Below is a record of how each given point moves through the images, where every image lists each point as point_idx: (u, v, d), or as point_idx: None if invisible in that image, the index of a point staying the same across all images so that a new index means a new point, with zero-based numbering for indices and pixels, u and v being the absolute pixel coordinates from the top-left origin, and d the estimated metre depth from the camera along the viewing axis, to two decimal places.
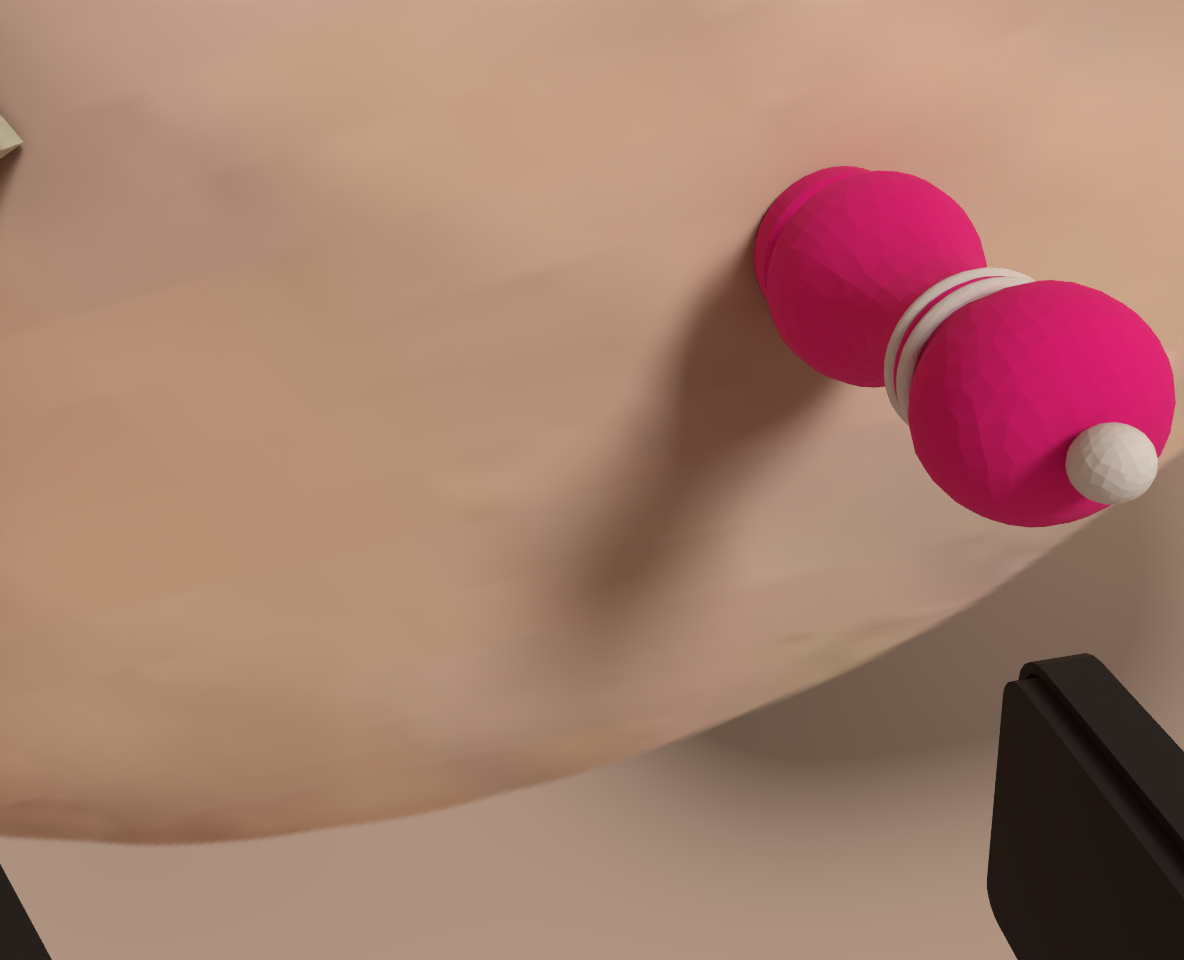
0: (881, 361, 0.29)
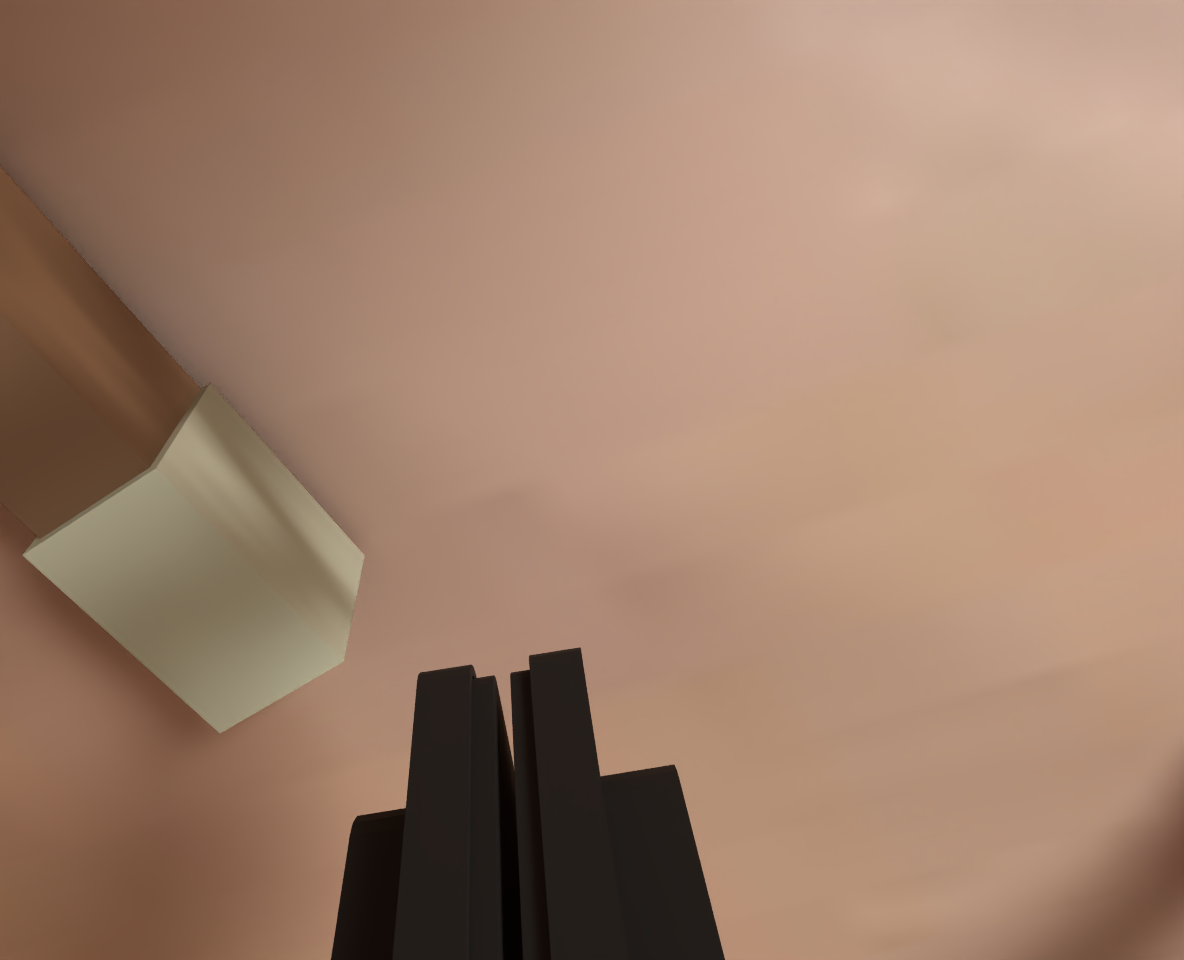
0: None
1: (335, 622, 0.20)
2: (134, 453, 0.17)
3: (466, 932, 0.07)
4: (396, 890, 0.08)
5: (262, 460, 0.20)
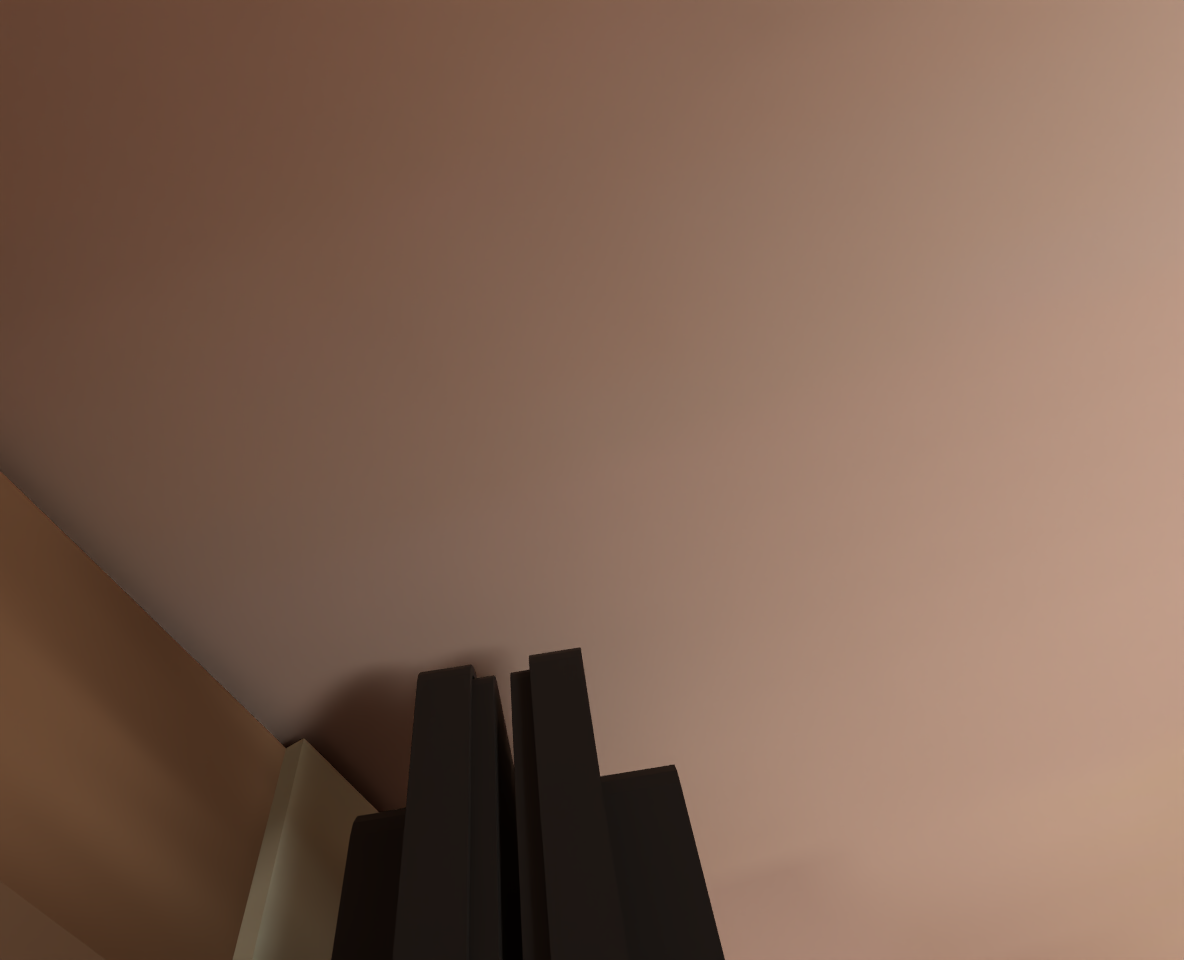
0: None
1: None
2: None
3: (466, 931, 0.07)
4: (396, 890, 0.08)
5: None
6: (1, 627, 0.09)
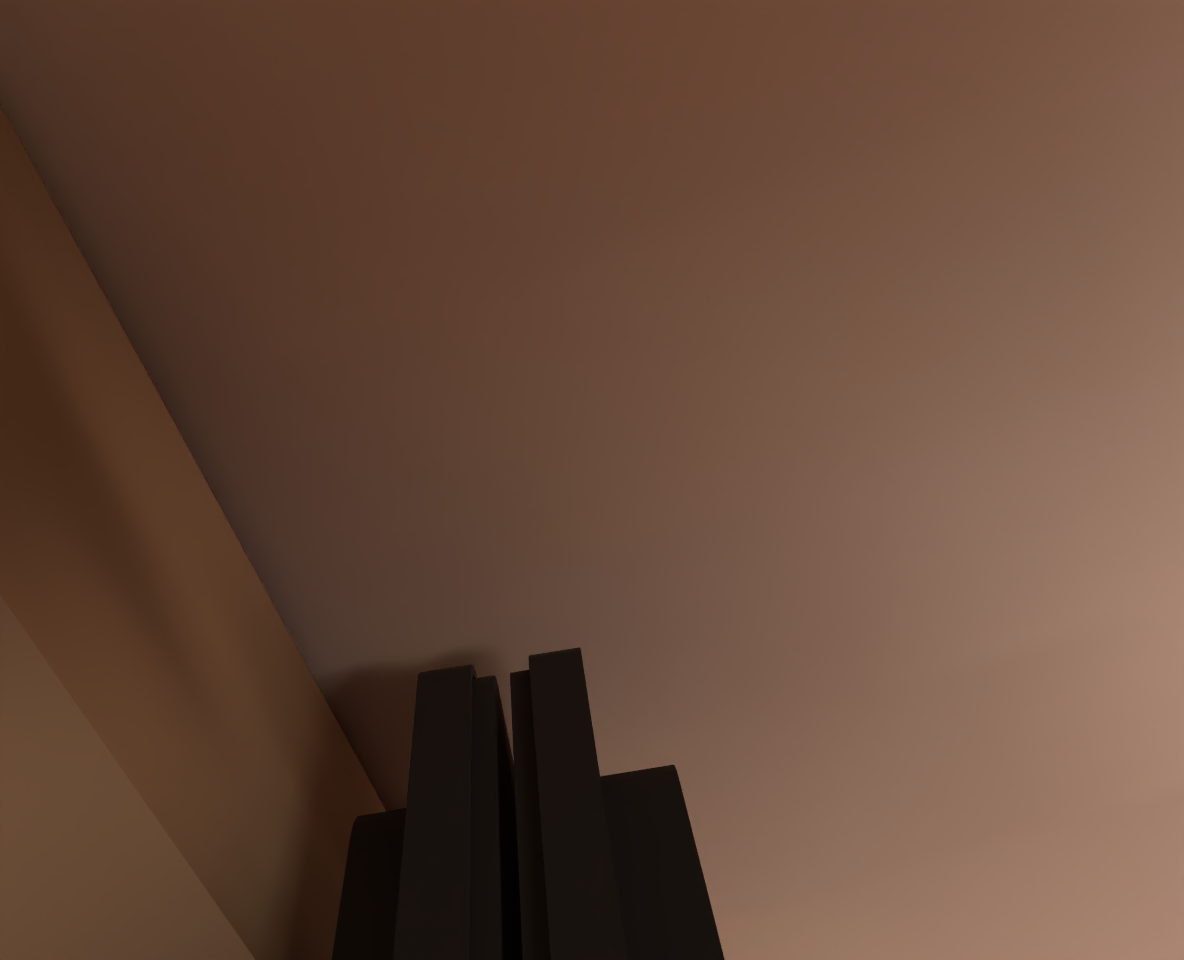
0: None
1: None
2: None
3: (466, 932, 0.07)
4: (396, 890, 0.08)
5: None
6: (263, 733, 0.09)
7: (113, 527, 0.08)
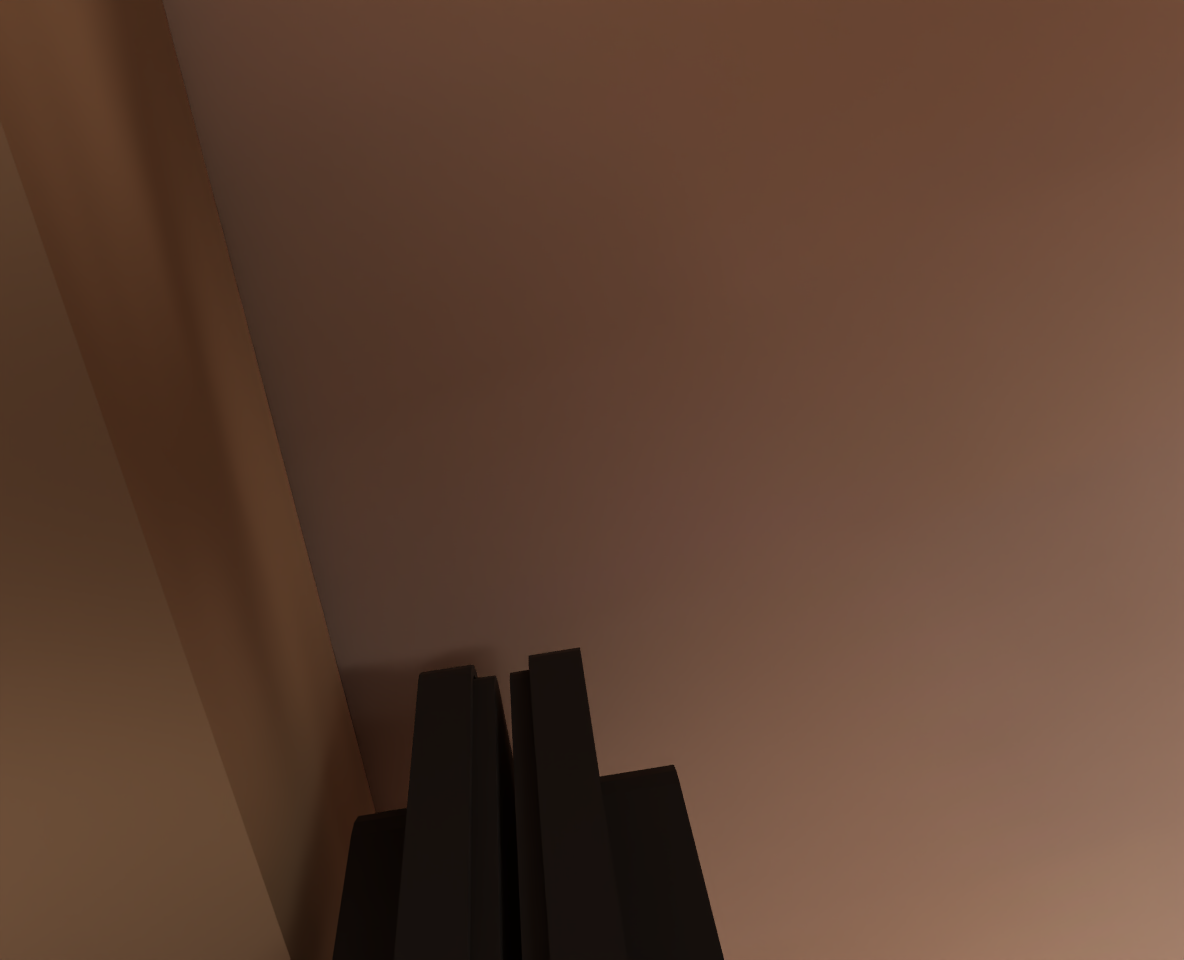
0: None
1: None
2: None
3: (468, 931, 0.07)
4: (397, 890, 0.08)
5: None
6: (319, 771, 0.10)
7: (244, 564, 0.08)
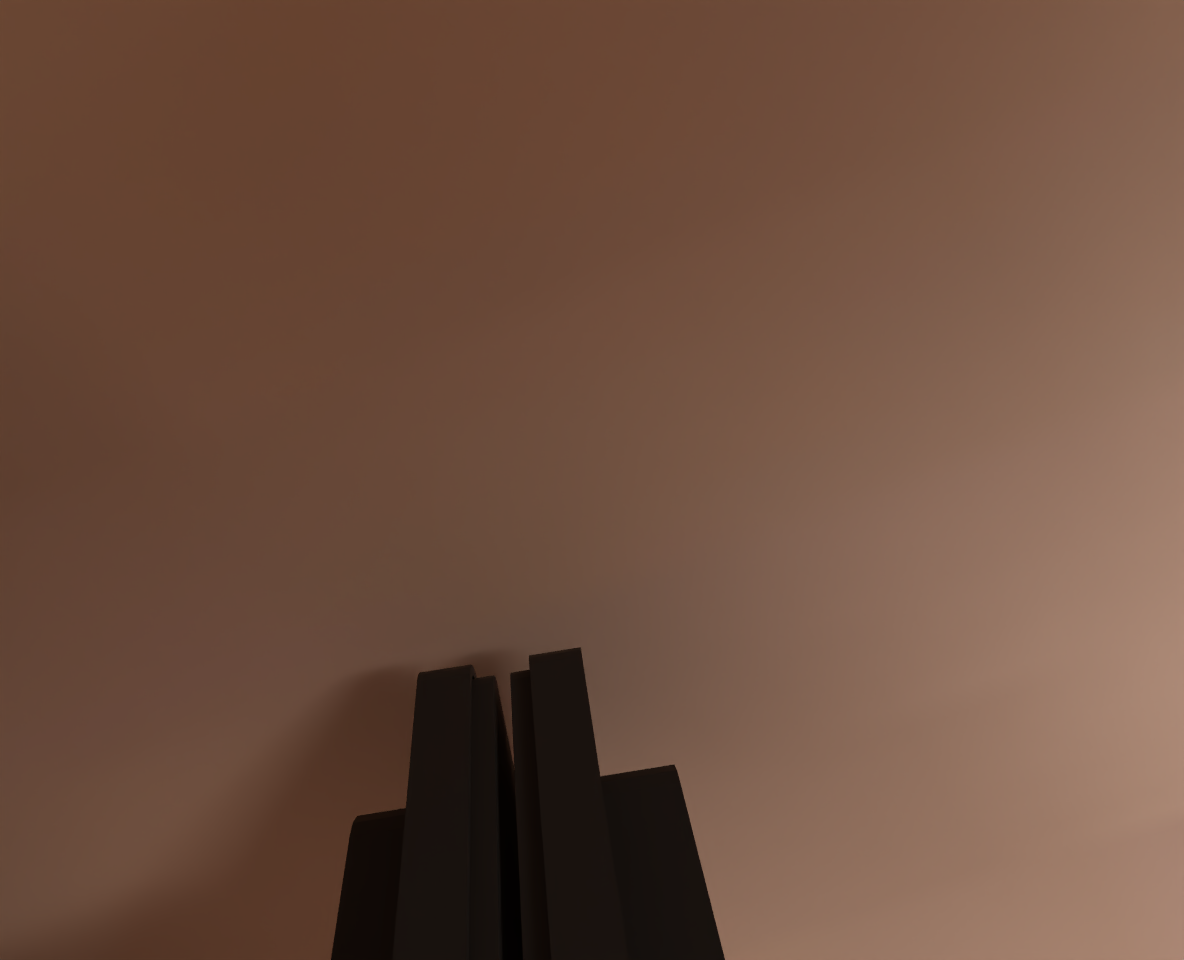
0: None
1: None
2: None
3: (466, 931, 0.07)
4: (396, 890, 0.08)
5: None
6: None
7: None
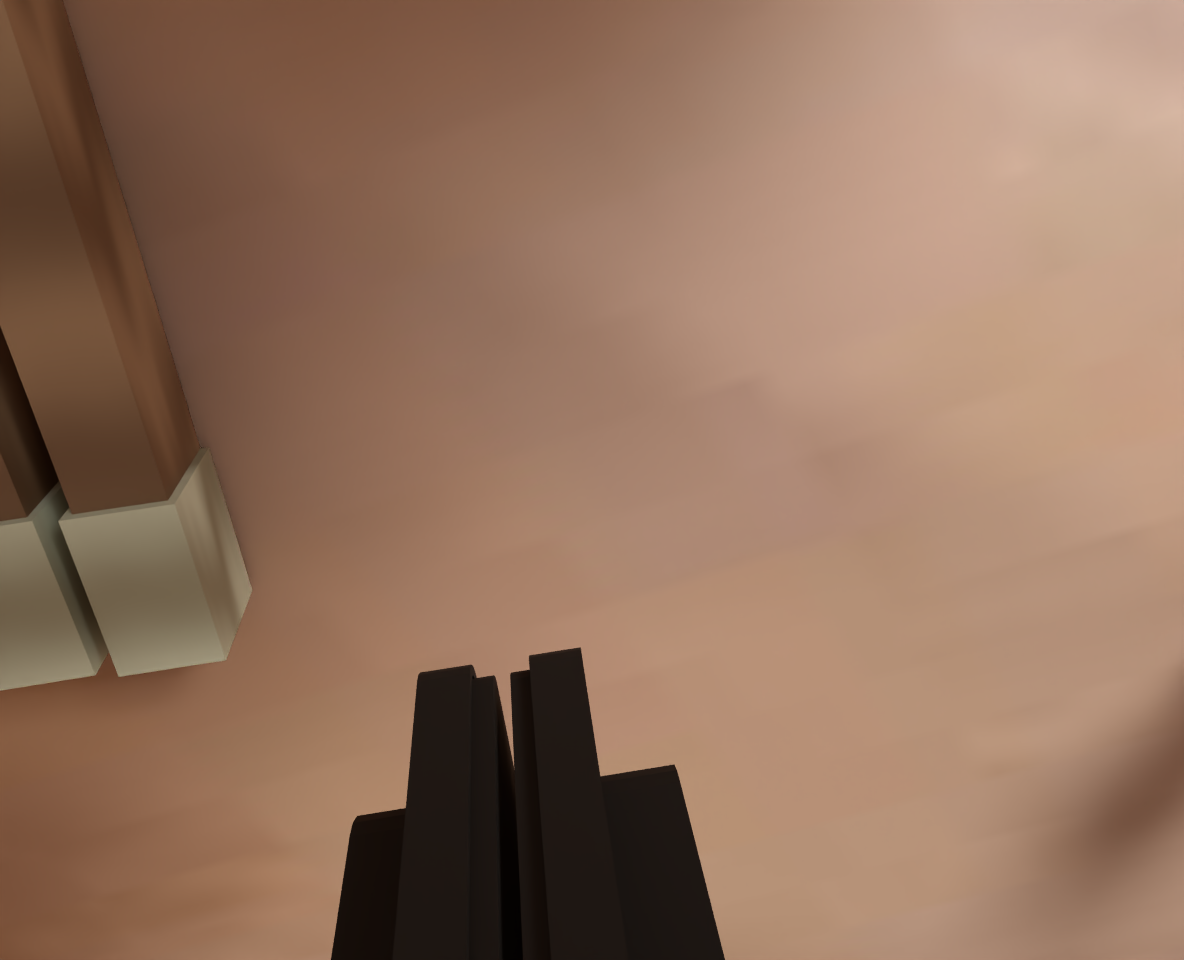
0: None
1: (228, 633, 0.29)
2: (162, 488, 0.26)
3: (467, 931, 0.07)
4: (396, 890, 0.08)
5: (220, 508, 0.30)
6: (151, 358, 0.27)
7: (116, 265, 0.25)
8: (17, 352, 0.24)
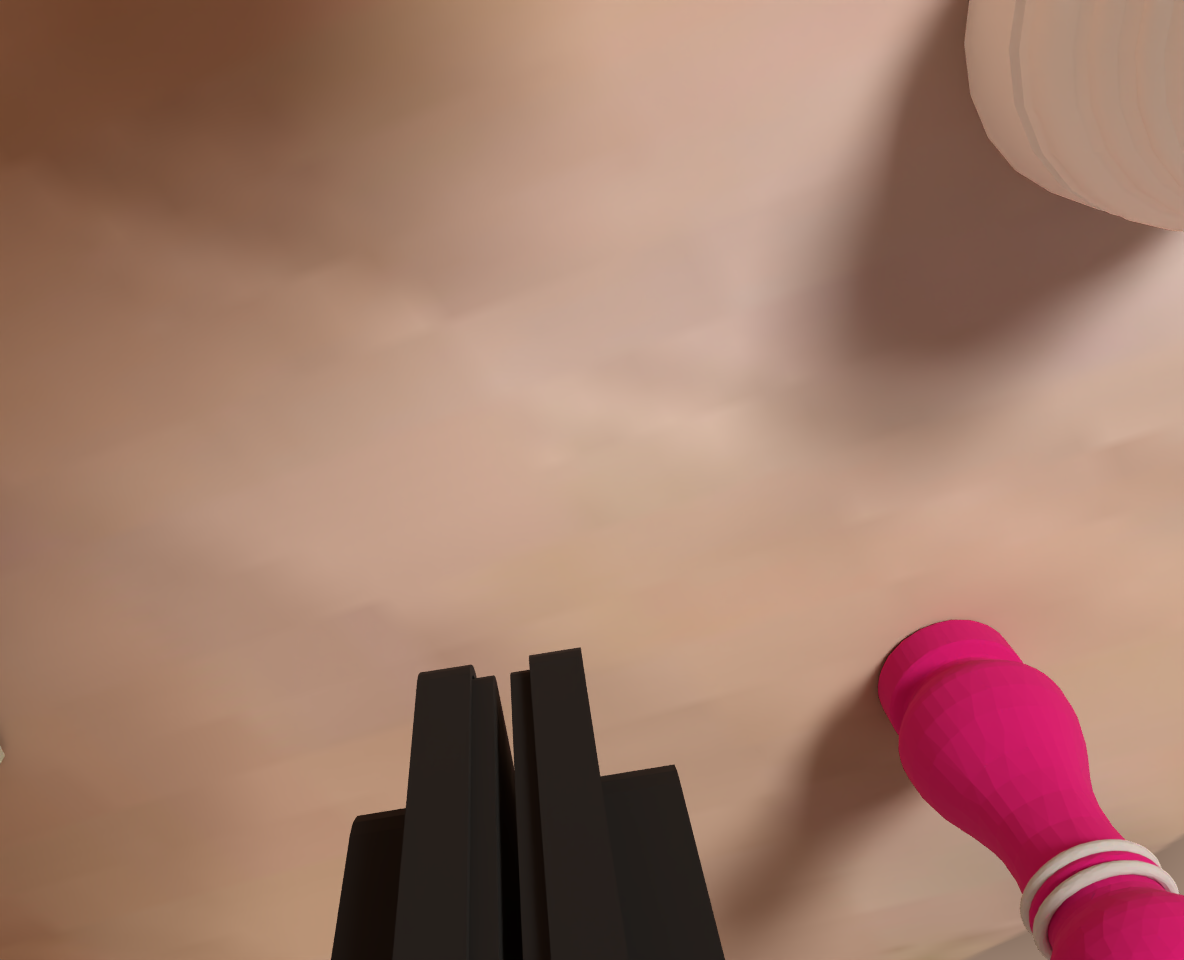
0: (1011, 871, 0.36)
1: None
2: None
3: (466, 931, 0.07)
4: (396, 890, 0.08)
5: None
6: None
7: None
8: None
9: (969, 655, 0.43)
